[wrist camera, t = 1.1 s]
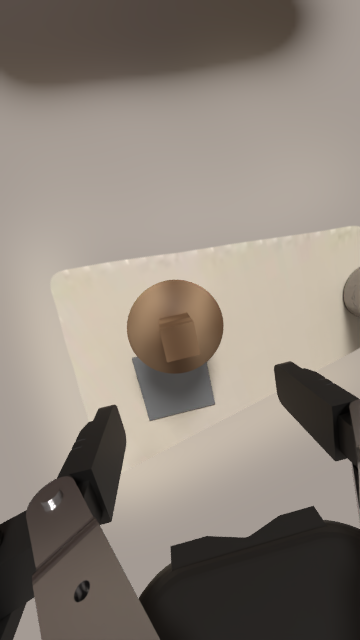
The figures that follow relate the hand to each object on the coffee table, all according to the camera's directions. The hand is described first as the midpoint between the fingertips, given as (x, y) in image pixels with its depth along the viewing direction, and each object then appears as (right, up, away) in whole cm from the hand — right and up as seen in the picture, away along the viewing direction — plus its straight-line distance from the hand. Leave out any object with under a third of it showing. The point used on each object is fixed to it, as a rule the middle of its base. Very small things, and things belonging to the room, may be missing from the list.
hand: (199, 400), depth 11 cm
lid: (-1, +3, +15) cm, 15 cm away
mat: (-2, -7, +27) cm, 28 cm away
